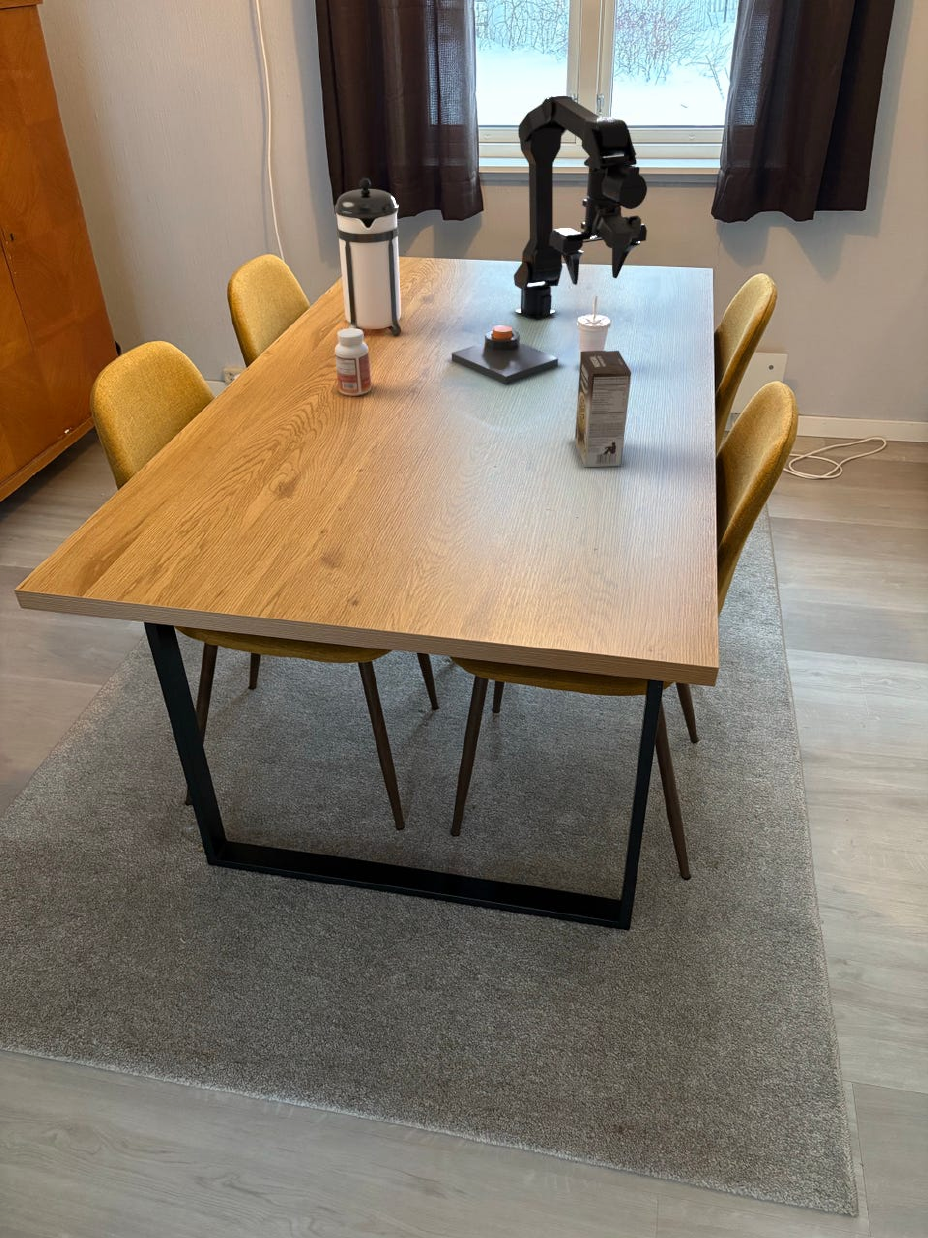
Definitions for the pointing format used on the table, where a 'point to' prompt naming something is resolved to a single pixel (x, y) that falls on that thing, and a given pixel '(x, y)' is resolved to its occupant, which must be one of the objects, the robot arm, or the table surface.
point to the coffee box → (602, 408)
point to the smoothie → (593, 331)
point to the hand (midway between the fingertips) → (594, 280)
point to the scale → (504, 359)
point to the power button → (502, 332)
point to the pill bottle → (352, 363)
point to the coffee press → (369, 258)
